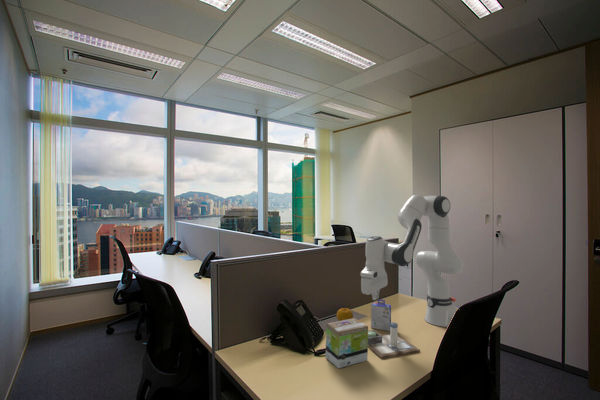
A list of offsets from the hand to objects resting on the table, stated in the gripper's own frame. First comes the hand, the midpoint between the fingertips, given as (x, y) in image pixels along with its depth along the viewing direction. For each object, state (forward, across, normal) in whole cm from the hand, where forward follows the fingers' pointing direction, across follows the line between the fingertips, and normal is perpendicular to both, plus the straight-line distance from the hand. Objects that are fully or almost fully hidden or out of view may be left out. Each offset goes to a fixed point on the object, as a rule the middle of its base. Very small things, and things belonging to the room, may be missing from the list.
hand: (375, 299), depth 138 cm
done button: (+18, +4, 0) cm, 19 cm away
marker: (+18, +3, +10) cm, 21 cm away
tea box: (+19, +24, -1) cm, 31 cm away
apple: (+20, -5, -21) cm, 29 cm away
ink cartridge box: (+20, -15, -5) cm, 26 cm away
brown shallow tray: (+20, +1, +7) cm, 21 cm away
